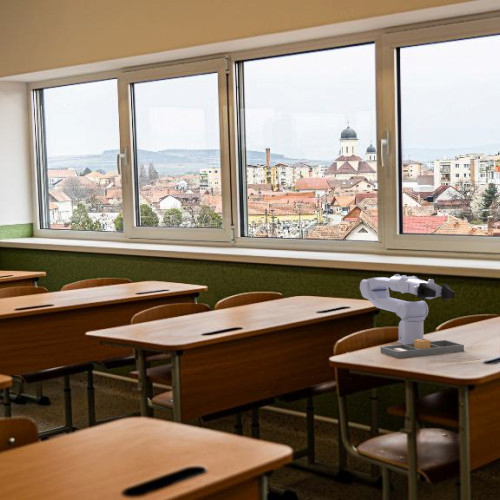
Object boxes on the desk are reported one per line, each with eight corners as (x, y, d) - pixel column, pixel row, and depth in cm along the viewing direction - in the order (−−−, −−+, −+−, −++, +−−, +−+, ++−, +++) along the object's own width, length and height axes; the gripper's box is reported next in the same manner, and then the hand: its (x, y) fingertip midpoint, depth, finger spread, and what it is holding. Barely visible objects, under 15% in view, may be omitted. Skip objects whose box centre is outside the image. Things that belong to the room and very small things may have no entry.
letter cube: (414, 351, 316) (413, 339, 316) (424, 350, 317) (423, 338, 317) (420, 353, 312) (420, 341, 312) (430, 351, 314) (430, 340, 313)
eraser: (393, 352, 313) (393, 348, 313) (399, 352, 314) (399, 348, 314) (401, 355, 309) (401, 351, 309) (407, 354, 310) (407, 350, 310)
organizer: (380, 353, 315) (380, 346, 315) (445, 346, 325) (445, 339, 325) (397, 359, 305) (397, 352, 305) (463, 351, 315) (463, 344, 314)
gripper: (406, 275, 322) (428, 281, 309) (440, 278, 327) (463, 284, 315) (403, 295, 322) (425, 302, 310) (438, 298, 328) (460, 304, 315)
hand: (444, 294), depth 312 cm, fingers open, 7 cm apart
